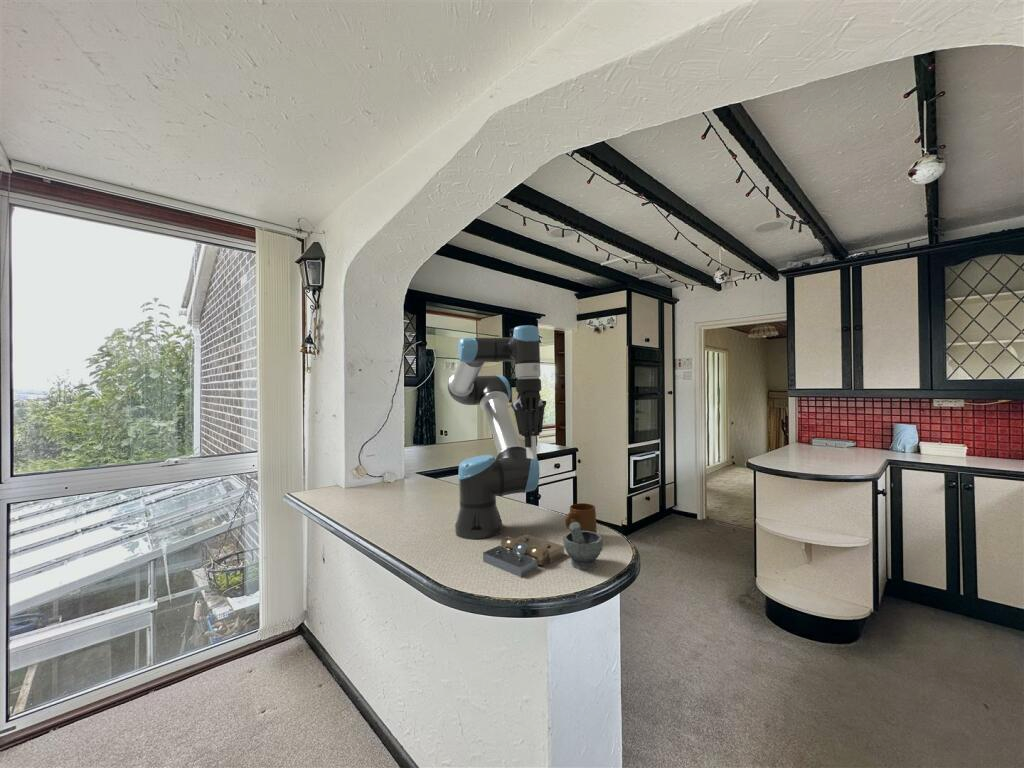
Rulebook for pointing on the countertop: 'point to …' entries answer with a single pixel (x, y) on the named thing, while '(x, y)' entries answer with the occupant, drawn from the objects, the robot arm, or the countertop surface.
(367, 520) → the countertop surface
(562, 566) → the countertop surface
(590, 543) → the mortar and pestle
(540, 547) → the fixed leaf
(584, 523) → the mug
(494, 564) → the loose leaf
